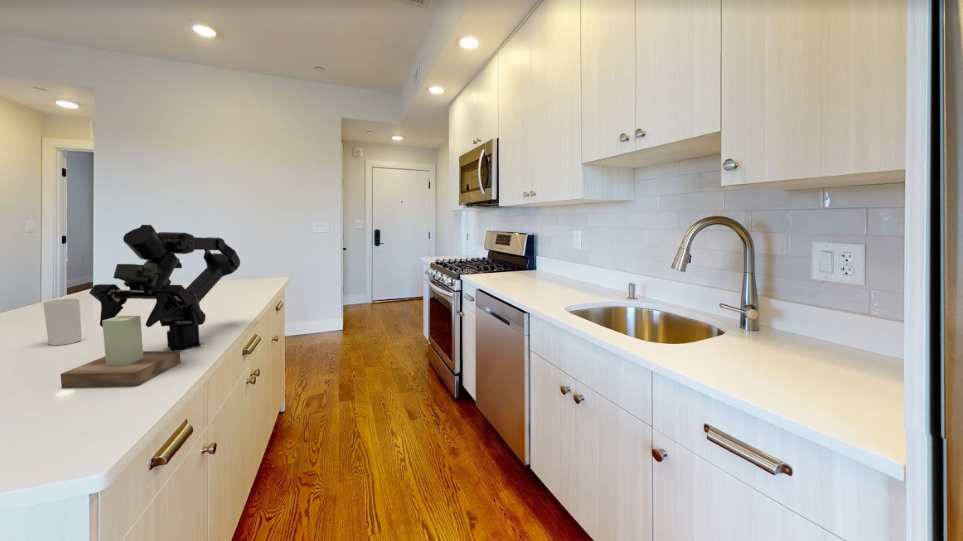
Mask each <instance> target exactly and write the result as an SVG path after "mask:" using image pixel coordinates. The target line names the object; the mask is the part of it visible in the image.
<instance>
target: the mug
mask: <svg viewBox="0 0 963 541" xmlns="http://www.w3.org/2000/svg"><path fill="white" fill-rule="evenodd" d="M42 303H43V304H42V305H43V311H44V319H45V327H46V333H47V334H46V335H47V341H48V345H50V346H64V344H66V345H71V344H70V343H72V344H76V343H79V342H81V341H82V339H83V338H82V321H81V317H82V316H81V304H80V298H77V297H70V298H68V297H65V298H53V299H48V300H44V301H42ZM78 341H79V342H78ZM75 342H76V343H75Z"/></svg>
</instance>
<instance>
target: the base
mask: <svg viewBox="0 0 963 541" xmlns="http://www.w3.org/2000/svg"><path fill="white" fill-rule="evenodd" d="M181 362H182V360H181V351H180V350H157V351H155V350H154V351H153V350H152V351H151V350H150V351H147V350H143V358H142V359H140V360H138V361H136V362H134V363H131V364H129V365H106V358H105V356H101V357H100V358H98V359H95V360H92V361H89V362H87V363H85V364H82V365H79V366H77V367H74V368H71V369H69V370H67V371H64V372H62V373H59V374H60V382H61V383H60V384H61V388H62V389H71V388H73V387H75V388H78V387H79V388H80V387H81V388H112V387H115V388H117V387H120V388H121V387H138V386H140V385H142V384H143V383H146V382H148V381H150V380H151V379H153V378H155V377H157V376H158V375H160V374H162V373H164V372H166V371H168V370H170V369H171V368H173V367H176V366H178V364H181ZM81 388H80V389H81ZM73 389H74V388H73Z"/></svg>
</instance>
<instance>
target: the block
mask: <svg viewBox="0 0 963 541" xmlns="http://www.w3.org/2000/svg"><path fill="white" fill-rule="evenodd" d="M141 319H142V318H141V315H116V316H115V317H113V318H110V319H106V320H103V321H102V323H103V327H102V333H103V334H102V335H103V342H104V343H103V344H104V354H105V355H104V357H105V358H106V365H129V364H131V363H134V362H136V361H138V360H140V359H142V358H143V351H144V348H143V346H144V345H143V333H142V321H141Z"/></svg>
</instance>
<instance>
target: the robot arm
mask: <svg viewBox="0 0 963 541" xmlns="http://www.w3.org/2000/svg"><path fill="white" fill-rule="evenodd" d="M122 238H123V239H122V240H123V242H124V243H125V244H126V245H127V246H128V248H129V249H130V250H131V251H132V252H134V254H135V255H136V256H137V257H138V258H139V259H141V260H143V261H144V260H146V261H145V262H144V264H137V263H117V264H116V267H115V270H114V274H113V277H112V278H113V279H115V280H117V279H118V280H119V281H120V280H121V281H123V285H124V286H125V287H126V288H129V289H121V288H120V287H119V286H118V285H117V284H115V283H110V284H109V283H100V284H93V287H92V288H91V290H90V291H89V294H90V295H91V296H93V298H95V300H98V301H99V302H100V308H101V309H100V310H101V311H100V318H99V326H100V327H101V328H103V323H102V321H103V320H106V319H110V318H113V317H117V316H118V315H119V313H120V312H122V310H123V309H124V306H123V305H125V304H126V303H127V301H128V299H130V300H132V299H134V300H135V299H137V300H139V299H141V300H156V301H155V305H154V307H153V308H152V310H151V312H150V313H149V316H148V317H147V320H146V322H145V326H146V327H147V328H150V327H152V326H154V325H155V324H156V323H160V325H161V327H168V330H166V340H167V342H166V344H167V348H170V351H179V350H183V349H190V348H196V347H201V345H202V344H201V342H200V332H199V331H200V327H199V326H200V325H204V324H205V322H206V316H207V314H205V312H204V311H203V310H202V309H201V307H200V306H201V305H200V303H201V301H202V300H203V299H204V298H205V296H206V295H207V294H208V293H209V292H210V291H211V290H212V289H213V288H214V286H216V285H217V283H218V282H219V281H220V280H221V279H222V278H223V277H225V276H228V275H229V276H230V275H231V274H234V273H235V271H237V270H238V269H239V267H240V266H241V265H240V264H241V259H240V257H239V255H238V253H237V252H236V250H235V249H233V248H232V247H230V246H229V245H228V244H227V243H226V242H225V240H224V239H223V238H221V237H210V236H209V237H208V236H207V237H195V236H194V235H193V234H192V233H187V232H178V231H177V232H170V231H167V232H166V231H160V232H156V230H155V228H154V227H153V225H151V224H141V226H140V227H138V228H134V229H132V230H130V231H128V232H126V233H125V234H124V235H123V237H122ZM195 250H201V251H203V250H204V254H203V260H204V261H205V264H206V268H205V269H203V271H202V272H200V274H199V275H198V276H197V277H196V278H195V279H194V280H193V281H192V282H191V283H190V284H189V285H188V286H187V287H186V288H185V287H184V286H183V285H182V284H171V283H172V281H171V279H170V277H171V275H172V274H173V272H174V270H175V269H182V268H183V265H182V263H181V261H180V258H179V257H177V256H176V255H188V254H190V253H191V254H192V253H194V251H195ZM211 251H219V252H220V253H218V252H217V253H215V252H214V253H212V252H211Z"/></svg>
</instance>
